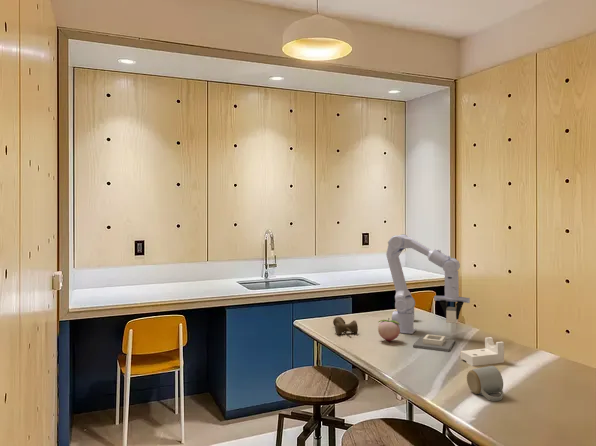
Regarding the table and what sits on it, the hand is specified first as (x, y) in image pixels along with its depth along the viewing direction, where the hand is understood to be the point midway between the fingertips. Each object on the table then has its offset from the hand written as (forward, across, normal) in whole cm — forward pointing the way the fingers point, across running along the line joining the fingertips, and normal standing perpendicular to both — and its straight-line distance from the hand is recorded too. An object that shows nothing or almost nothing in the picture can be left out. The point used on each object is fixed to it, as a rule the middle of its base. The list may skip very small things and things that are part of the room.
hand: (451, 318), depth 199 cm
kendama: (+9, -46, -9) cm, 48 cm away
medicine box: (+9, -26, +22) cm, 35 cm away
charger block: (+2, 0, 0) cm, 2 cm away
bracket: (+9, +15, -27) cm, 32 cm away
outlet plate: (+8, -5, -14) cm, 17 cm away
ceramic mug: (+9, +20, -58) cm, 62 cm away
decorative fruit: (+9, -23, -16) cm, 30 cm away
